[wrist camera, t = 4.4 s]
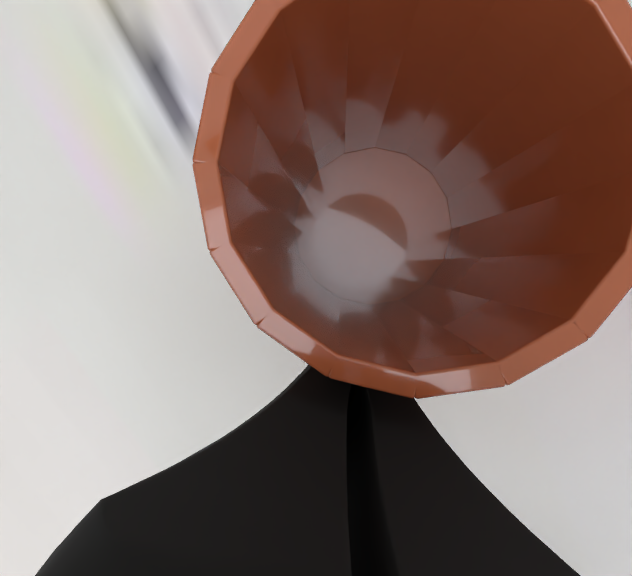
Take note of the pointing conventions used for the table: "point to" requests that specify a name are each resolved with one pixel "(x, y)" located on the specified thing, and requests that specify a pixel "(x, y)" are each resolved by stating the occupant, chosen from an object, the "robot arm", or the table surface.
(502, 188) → the cup
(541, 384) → the table surface
